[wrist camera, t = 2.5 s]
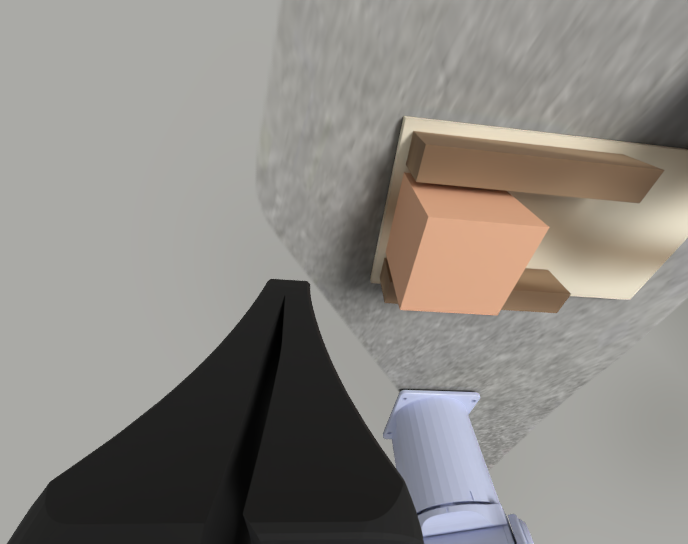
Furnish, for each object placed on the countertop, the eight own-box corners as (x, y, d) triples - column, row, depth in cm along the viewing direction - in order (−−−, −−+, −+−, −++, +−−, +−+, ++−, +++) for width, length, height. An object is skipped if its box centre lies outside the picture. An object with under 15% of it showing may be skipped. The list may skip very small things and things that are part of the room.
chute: (536, 288, 21) (556, 312, 19) (379, 277, 20) (384, 302, 18) (623, 154, 15) (664, 170, 13) (413, 130, 14) (425, 144, 12)
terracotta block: (462, 258, 19) (497, 315, 15) (385, 252, 18) (399, 309, 15) (495, 181, 16) (549, 227, 12) (403, 172, 15) (428, 216, 12)
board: (624, 295, 22) (629, 299, 22) (370, 278, 20) (370, 283, 20) (750, 156, 16) (760, 159, 16) (403, 116, 14) (405, 118, 14)
